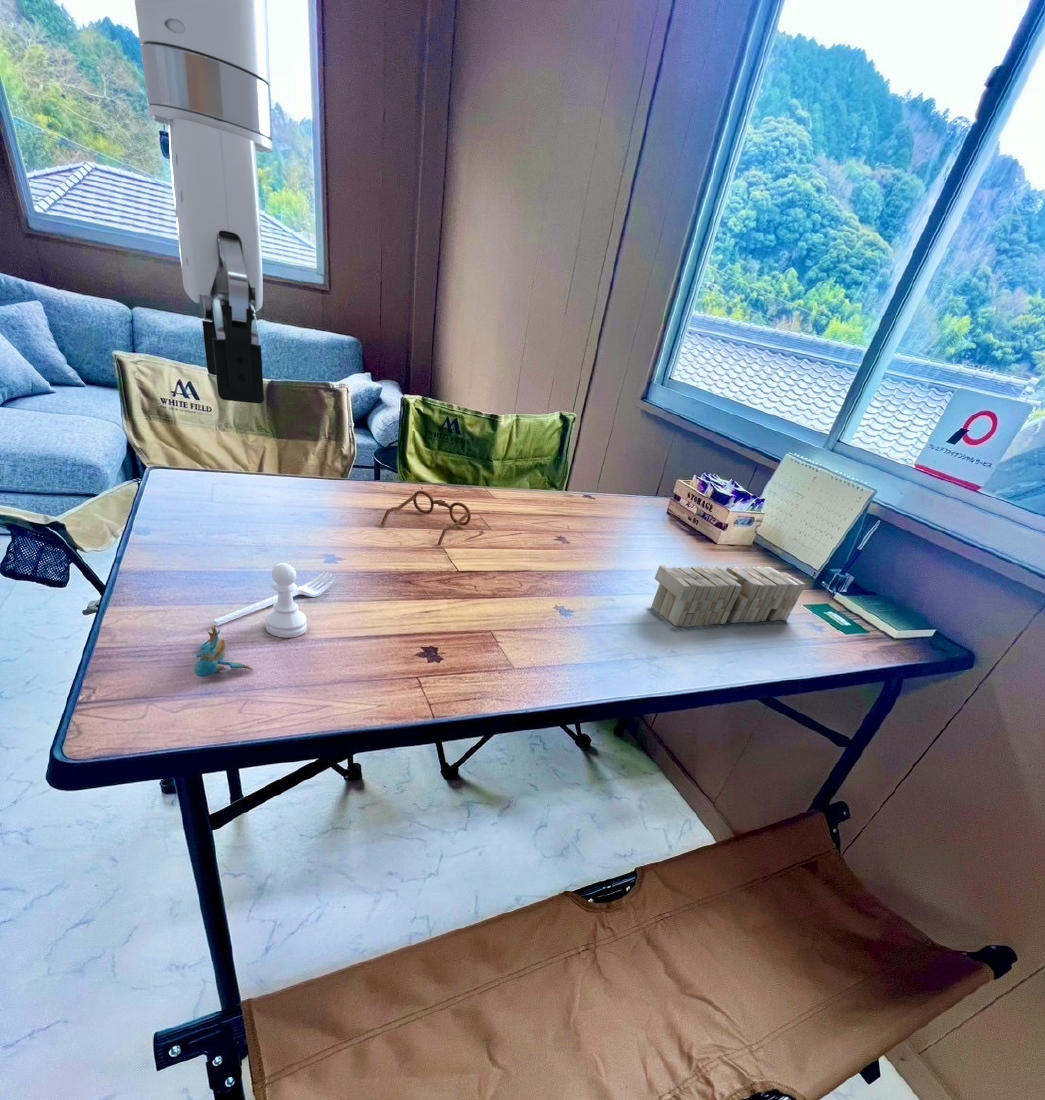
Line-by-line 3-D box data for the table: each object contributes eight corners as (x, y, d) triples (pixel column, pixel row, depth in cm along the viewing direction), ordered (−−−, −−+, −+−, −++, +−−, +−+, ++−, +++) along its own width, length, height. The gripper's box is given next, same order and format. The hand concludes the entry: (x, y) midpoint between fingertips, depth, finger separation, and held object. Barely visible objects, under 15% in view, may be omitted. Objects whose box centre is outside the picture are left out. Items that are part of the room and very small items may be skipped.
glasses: (469, 529, 120) (473, 505, 117) (439, 546, 109) (442, 519, 107) (414, 511, 123) (416, 487, 120) (379, 525, 112) (380, 499, 109)
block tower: (757, 605, 117) (642, 606, 104) (776, 566, 113) (658, 561, 99) (786, 625, 112) (668, 628, 98) (807, 584, 107) (686, 581, 94)
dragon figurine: (149, 648, 66) (180, 653, 61) (200, 608, 69) (233, 609, 64) (191, 690, 70) (223, 697, 65) (237, 649, 73) (270, 653, 68)
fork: (205, 622, 74) (203, 609, 73) (322, 580, 89) (322, 568, 88) (223, 632, 73) (222, 619, 72) (338, 587, 88) (338, 576, 87)
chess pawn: (259, 622, 76) (255, 558, 71) (298, 616, 79) (296, 554, 74) (274, 641, 73) (270, 575, 68) (313, 634, 76) (312, 570, 71)
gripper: (144, 103, 43) (177, 362, 53) (147, 64, 32) (189, 407, 41) (254, 135, 47) (266, 373, 57) (293, 112, 35) (301, 417, 45)
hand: (234, 387), depth 49 cm, fingers open, 9 cm apart
